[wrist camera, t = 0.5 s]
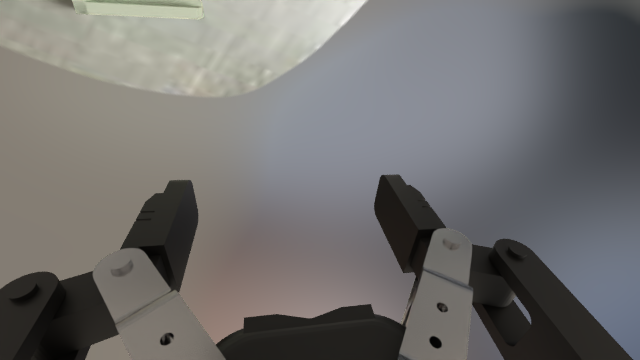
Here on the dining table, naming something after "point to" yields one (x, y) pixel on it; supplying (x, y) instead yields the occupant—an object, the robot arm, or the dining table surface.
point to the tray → (142, 8)
